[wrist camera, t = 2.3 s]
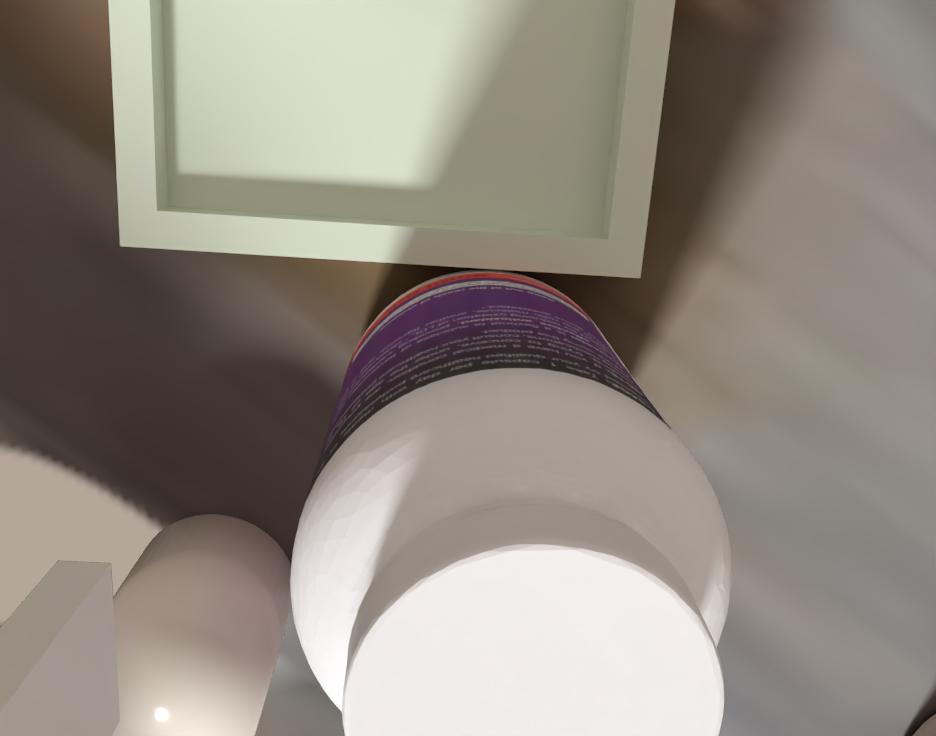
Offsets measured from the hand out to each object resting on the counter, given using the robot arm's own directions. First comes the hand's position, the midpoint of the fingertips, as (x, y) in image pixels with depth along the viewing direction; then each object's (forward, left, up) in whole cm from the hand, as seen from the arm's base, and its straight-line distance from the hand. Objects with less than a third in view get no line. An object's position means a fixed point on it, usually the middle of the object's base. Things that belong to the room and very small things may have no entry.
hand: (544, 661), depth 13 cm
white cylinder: (-8, -7, -14) cm, 17 cm away
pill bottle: (0, 0, -14) cm, 14 cm away
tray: (-3, +11, -13) cm, 18 cm away
